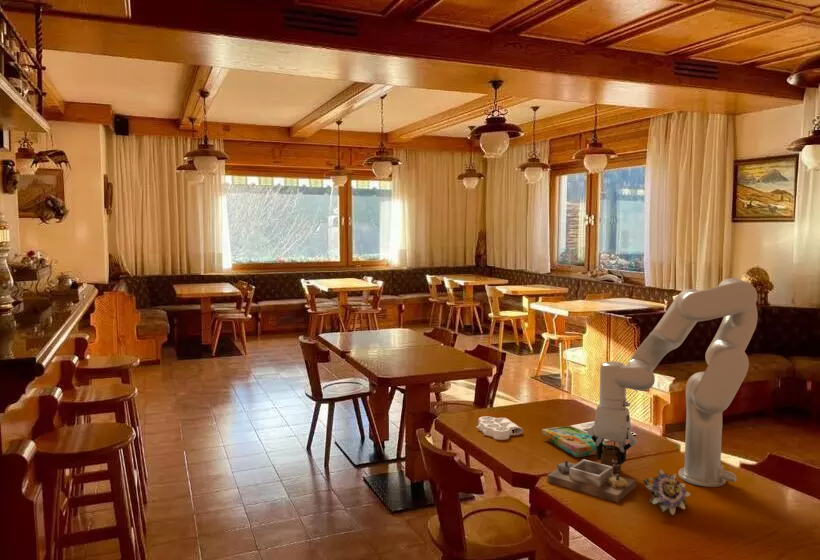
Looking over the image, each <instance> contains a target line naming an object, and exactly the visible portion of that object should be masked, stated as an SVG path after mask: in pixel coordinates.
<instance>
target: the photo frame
mask: <svg viewBox="0 0 820 560" xmlns="http://www.w3.org/2000/svg"><path fill="white" fill-rule="evenodd" d="M594 422H595V420H593V421H589V422H582V423H577V424H572V425H570V426H572V427H574V428H576V429H578V430H580V431H582V432H584V433H586V434H588V433H587V431H588V430H589V429H590V428H591V427H593V426H594ZM631 433H633V434H632V435H636V436H637V433H635V432H632V431H631ZM588 435H589V434H588ZM607 442H612V441H611V440H607V439H605V442H604V443H607Z"/></svg>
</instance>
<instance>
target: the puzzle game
mask: <svg viewBox="0 0 820 560" xmlns="http://www.w3.org/2000/svg"><path fill="white" fill-rule="evenodd" d="M541 433H542V435H544V436H545V437H547V439H548V441H549V442H550V443H551V444H553V445H555V446H557V447H558V448H560V449H561V450H563V451H564V452H567V453H568V454H571V456H574V457H575V458H581V457H583V458H584V457H588V456H594V455H595V456H596V455H597V446H596V445H595V442H594V441H593V440H592V437H591V436H590V435H589V434H586V433H584V432H582V431H580V430H578V429H576V428H574V427H572V426H571V425H565V426H557V427H548V428H542V429H541ZM603 444H605V445H607V443H606V442H604V441H603ZM605 445H604V446H605Z"/></svg>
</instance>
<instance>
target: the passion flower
mask: <svg viewBox="0 0 820 560" xmlns="http://www.w3.org/2000/svg"><path fill="white" fill-rule="evenodd" d="M652 480H653V481H652ZM650 481H652V482H650ZM642 482H643V483H644V485H645V486H644V488H645V489H646V490H649V492H650V494H651V495H652V497H650V499H649V504H650V505H657V504H658V506H659V509H660V511H661V512H662V513H664V512H667V513H668V514H669V515H670V514H671V515H670V516H674V515H675V514H676V508H677V507H678V508H679V509H682V510H686V502H687V499H686V498H688V497H690V496H691V492H688V491H687V490H686V483H683V482H682V483H681V482H680V481H679V480H678V478H677V474H676V473H673V474H670V475H669V474H668V473H666V474H665V472H664V470H663V469H661V468H659V469H658V472H657V475H656V477H653V478H652V477H649V476H647V477H646V479H644V480H643V481H642Z"/></svg>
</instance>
